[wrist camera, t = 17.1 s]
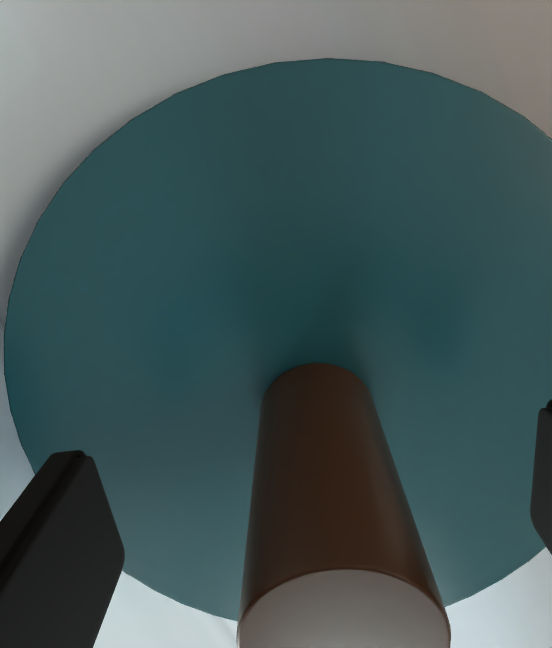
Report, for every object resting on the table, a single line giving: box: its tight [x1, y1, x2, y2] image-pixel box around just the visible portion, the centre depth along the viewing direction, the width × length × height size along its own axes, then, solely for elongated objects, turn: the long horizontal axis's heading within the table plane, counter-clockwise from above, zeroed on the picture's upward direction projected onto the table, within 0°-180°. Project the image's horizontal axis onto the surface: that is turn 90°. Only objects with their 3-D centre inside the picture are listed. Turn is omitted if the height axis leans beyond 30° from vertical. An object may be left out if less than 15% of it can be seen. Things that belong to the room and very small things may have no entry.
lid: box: [4, 58, 552, 648], centre depth 10 cm, size 18×18×8 cm
